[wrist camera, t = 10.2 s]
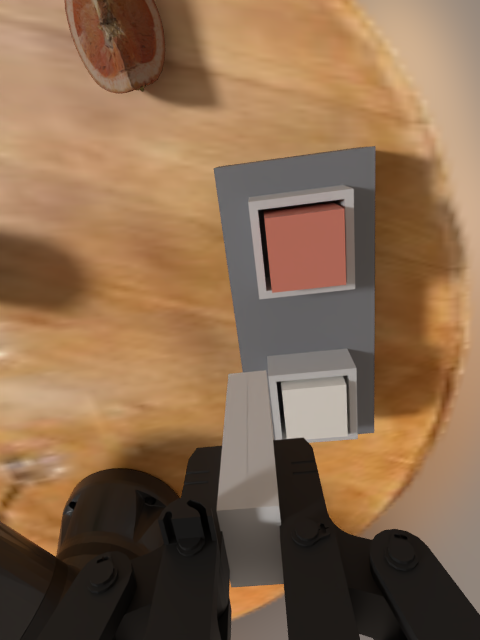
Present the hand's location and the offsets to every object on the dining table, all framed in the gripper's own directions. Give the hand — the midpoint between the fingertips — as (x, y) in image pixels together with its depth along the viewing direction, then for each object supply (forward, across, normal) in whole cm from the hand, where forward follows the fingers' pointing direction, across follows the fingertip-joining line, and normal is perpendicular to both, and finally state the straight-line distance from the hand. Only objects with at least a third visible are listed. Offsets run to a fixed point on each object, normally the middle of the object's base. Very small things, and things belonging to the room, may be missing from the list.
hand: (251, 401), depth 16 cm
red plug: (+17, -4, -3) cm, 18 cm away
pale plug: (+18, -4, +11) cm, 22 cm away
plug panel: (+23, -4, +4) cm, 24 cm away
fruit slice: (+24, +8, -19) cm, 31 cm away
